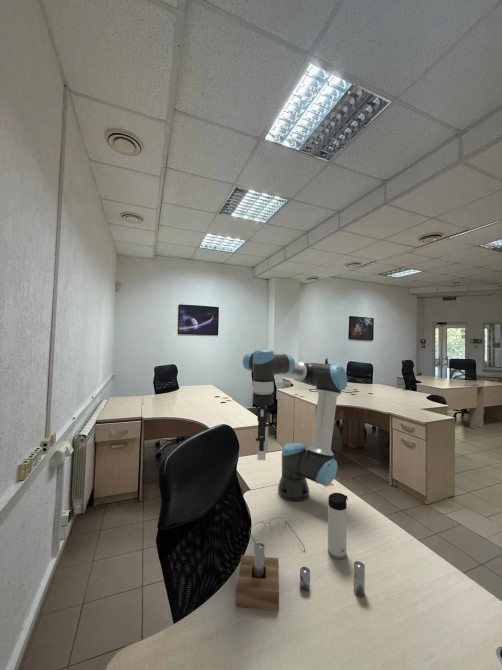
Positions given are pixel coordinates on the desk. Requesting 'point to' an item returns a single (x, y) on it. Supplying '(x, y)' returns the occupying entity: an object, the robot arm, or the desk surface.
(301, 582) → the short pin
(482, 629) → the desk surface
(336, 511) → the travel mug
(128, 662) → the desk surface
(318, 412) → the robot arm
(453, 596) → the desk surface
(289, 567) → the desk surface
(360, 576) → the medium pin
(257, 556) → the long pin
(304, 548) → the eyeglasses
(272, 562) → the collar block
